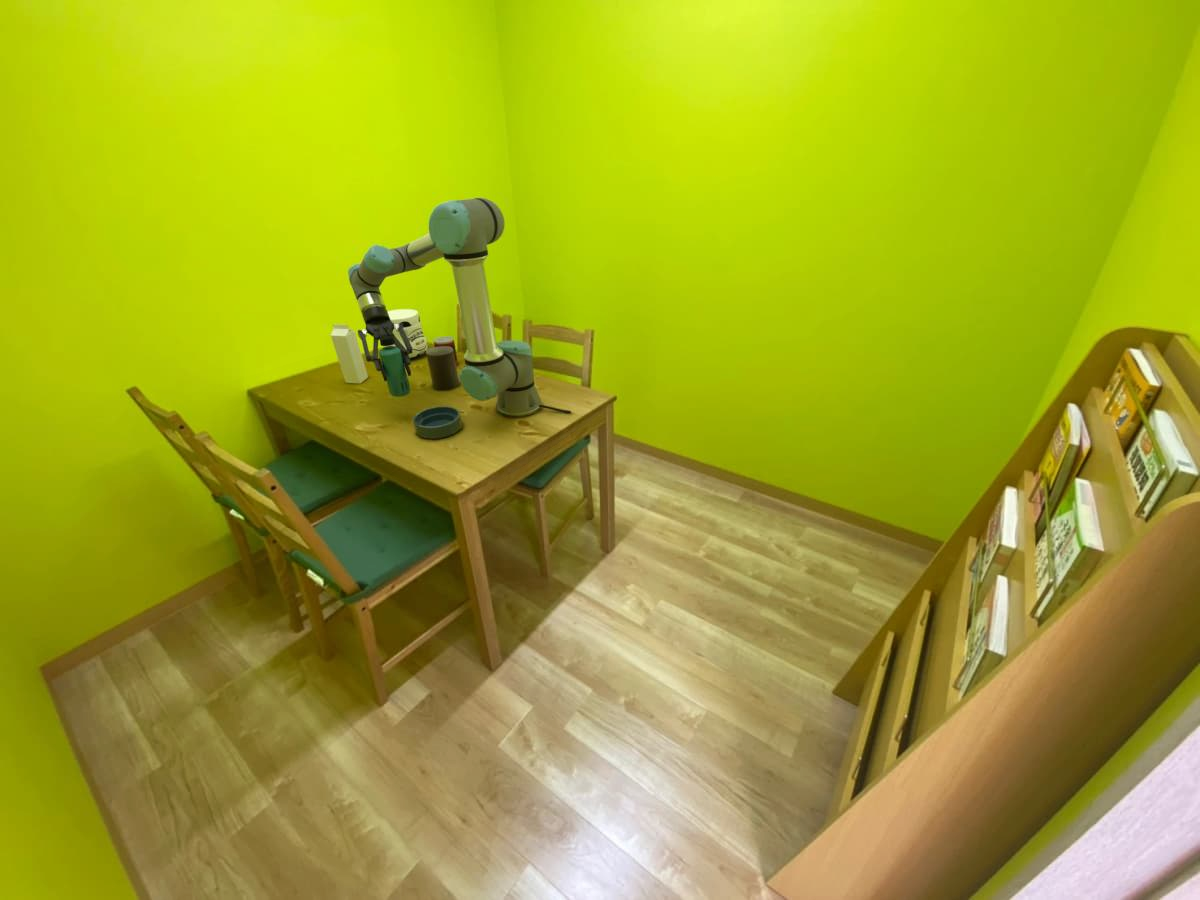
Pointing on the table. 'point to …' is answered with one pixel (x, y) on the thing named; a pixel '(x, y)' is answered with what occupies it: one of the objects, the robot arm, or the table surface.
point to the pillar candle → (442, 368)
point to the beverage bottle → (394, 367)
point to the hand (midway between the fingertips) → (397, 376)
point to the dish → (437, 422)
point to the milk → (348, 354)
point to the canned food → (446, 344)
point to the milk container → (410, 330)
